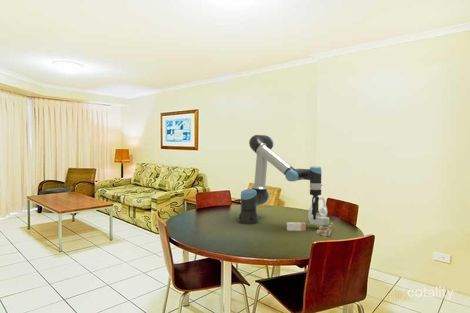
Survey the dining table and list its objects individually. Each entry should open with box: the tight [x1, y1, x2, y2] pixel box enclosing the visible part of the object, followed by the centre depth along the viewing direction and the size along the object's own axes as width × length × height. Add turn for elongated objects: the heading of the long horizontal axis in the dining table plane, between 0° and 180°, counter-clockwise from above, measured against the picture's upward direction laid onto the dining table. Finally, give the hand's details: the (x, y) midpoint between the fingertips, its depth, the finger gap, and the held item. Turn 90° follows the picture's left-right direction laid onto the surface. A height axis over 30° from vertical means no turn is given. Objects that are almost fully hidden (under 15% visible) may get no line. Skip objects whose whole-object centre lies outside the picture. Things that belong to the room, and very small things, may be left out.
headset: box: [307, 196, 328, 222], centre depth 221 cm, size 20×7×18 cm, turn 131°
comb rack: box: [316, 221, 334, 238], centre depth 191 cm, size 8×21×5 cm, turn 155°
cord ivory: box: [286, 221, 307, 232], centre depth 195 cm, size 12×4×4 cm, turn 85°
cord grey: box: [309, 216, 330, 226], centre depth 197 cm, size 12×4×4 cm, turn 65°
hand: (315, 222), depth 198 cm, fingers closed on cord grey, 4 cm apart
